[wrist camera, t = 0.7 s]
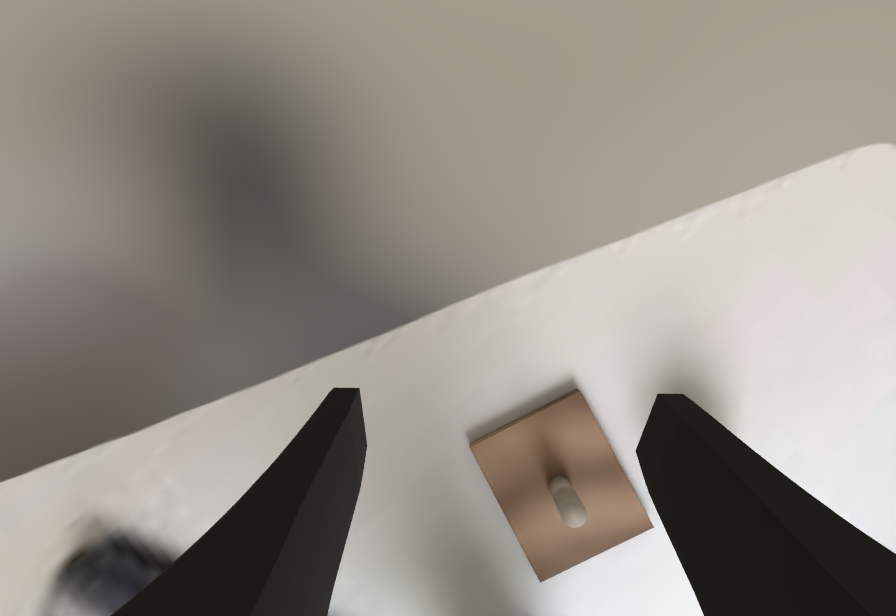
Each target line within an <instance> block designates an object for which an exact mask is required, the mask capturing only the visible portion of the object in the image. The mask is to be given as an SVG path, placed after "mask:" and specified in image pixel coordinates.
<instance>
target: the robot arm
mask: <svg viewBox="0 0 896 616" xmlns="http://www.w3.org/2000/svg"><path fill="white" fill-rule="evenodd" d="M366 450H367V441H366V434H365V426H364V418H363V411H362V403H361V396H360V388H333V389H332V390H331V391H330V392H329V394H328V395H327V396H326V398H325V399H324V400H323V402H322V403H321V404H320V406H319V407H318V408H317V410H316V411H315V412H314V413H313V415H312V416H311V417H310V419H309V420H308V421H307V422H306V424H305V425H304V426H303V427H302V429H301V430H300V431H299V432H298V434H297V435H296V436H295V437H294V438H293V440H292V441H291V442H290V443H289V444H288V446H287V447H286V448H285V449H284V450H283V452H282V453H281V454H280V455H279V456H278V458H277V459H276V460H275V461H274V462H273V463H272V464H271V466H270V467H269V468H268V469H267V470H266V471H265V472H264V473H263V474H262V475H261V477H260V478H259V479H258V480H257V481H256V482H255V483H254V484H253V485H252V486H251V487H250V488H249V490H248V491H247V492H246V493H245V494H244V495H243V496H242V497H241V498H240V499H239V500H238V501H237V502H236V503H235V504H234V505H233V506H232V507H231V508H230V509H229V510H228V511H227V513H226V514H225V515H223V516H222V517H221V518H220V519H219V520H218V521H217V522H216V523H215V524H214V525H213V526H212V527H211V528H210V529H209V530H208V531H207V532H206V533H205V534H204V535H203V536H202V537H201V538H200V539H199V540H198V541H197V542H195V543H194V544H193V545H192V546H191V547H190V548H189V549H188V550H187V551H186V552H184V553H183V554H182V555H181V556H180V557H179V558H178V559H177V560H175V561H174V562H173V563H172V564H171V565H170V566H169V567H168V568H167V569H165V570H164V571H163V572H162V573H161V574H160V575H159V576H158V577H156V578H155V579H154V580H153V581H152V582H151V583H149V584H148V585H147V586H146V587H145V588H144V589H142V590H141V591H140V592H139V593H138V594H137V595H135V596H134V597H133V598H132V599H131V600H129V601H128V602H127V603H126V604H124V605H123V606H122V607H121V608H119V609H118V610H117V611H116V612H114V613H113V614H112V615H111V616H327V614H328V609H329V604H330V600H331V596H332V592H333V587H334V583H335V580H336V576H337V572H338V569H339V565H340V561H341V558H342V554H343V550H344V547H345V543H346V539H347V536H348V532H349V528H350V525H351V521H352V517H353V514H354V510H355V506H356V502H357V499H358V495H359V491H360V487H361V481H362V475H363V469H364V463H365V456H366ZM636 453H637V457H638V460H639V463H640V467H641V470H642V473H643V476H644V479H645V482H646V485H647V488H648V491H649V494H650V496H651V498H652V501H653V503H654V505H655V507H656V510H657V512H658V514H659V516H660V519H661V521H662V523H663V525H664V527H665V530H666V532H667V534H668V536H669V538H670V540H671V543H672V545H673V547H674V549H675V551H676V553H677V556H678V558H679V560H680V562H681V564H682V566H683V569H684V571H685V573H686V575H687V577H688V579H689V582H690V584H691V586H692V588H693V590H694V592H695V595H696V597H697V600H698V602H699V604H700V607H701V609H702V612H703V614H704V616H896V554H895V553H893V552H892V551H890V550H889V549H887V548H886V547H884V546H883V545H881V544H880V543H878V542H877V541H875V540H874V539H872V538H871V537H869V536H868V535H866V534H865V533H863V532H862V531H860V530H859V529H858V528H856V527H855V526H853V525H852V524H850V523H849V522H848V521H846V520H845V519H843V518H842V517H840V516H839V515H838V514H836V513H835V512H834V511H832V510H831V509H829V508H828V507H827V506H825V505H824V504H823V503H821V502H820V501H819V500H817V499H816V498H814V497H813V496H812V495H810V494H809V493H808V492H806V491H805V490H804V489H802V488H801V487H800V486H798V485H797V484H796V483H794V482H793V481H792V480H790V479H789V478H788V477H787V476H785V475H784V474H783V473H781V472H780V471H779V470H778V469H776V468H775V467H774V466H772V465H771V464H770V463H769V462H767V461H766V460H765V459H764V458H762V457H761V456H760V455H759V454H757V453H756V452H755V451H754V450H752V449H751V448H750V447H749V446H747V445H746V444H745V443H744V442H742V441H741V440H740V439H739V438H738V437H736V436H735V435H734V434H733V433H731V432H730V431H729V430H728V429H726V428H725V427H724V426H723V425H722V424H720V423H719V422H718V421H717V420H715V419H714V418H713V417H712V416H710V415H709V414H708V413H707V412H706V411H704V410H703V409H702V408H701V407H699V406H698V405H697V404H695V403H694V402H693V401H692V400H690V399H689V398H688V397H686V396H685V395H684V394H657V397H656V400H655V402H654V405H653V407H652V410H651V412H650V415H649V418H648V420H647V423H646V425H645V428H644V431H643V433H642V436H641V438H640V441H639V443H638V446H637V449H636Z"/></svg>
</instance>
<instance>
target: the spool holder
mask: <svg viewBox="0 0 896 616" xmlns="http://www.w3.org/2000/svg"><path fill="white" fill-rule="evenodd" d="M470 449H471V451H472V453H473V455H474V457H475V459H476V460H477V462H478V464H479V466H480V468H481V470H482V472H483V474H484V476H485V478H486V480H487V482H488V483H489V485H490V487H491V489H492V491H493V493H494V495H495V497H496V499H497V501H498V503H499V504H500V506H501V508H502V510H503V512H504V514H505V516H506V518H507V520H508V522H509V524H510V525H511V527H512V529H513V531H514V533H515V535H516V537H517V539H518V541H519V543H520V545H521V547H522V548H523V550H524V552H525V554H526V556H527V558H528V560H529V562H530V564H531V566H532V568H533V569H534V571H535V573H536V575H537V577H538V579H539V581H540V582H542V581H544V580H546V579H549V578H551V577H553V576H555V575H557V574H559V573H561V572H563V571H565V570H567V569H569V568H571V567H573V566H575V565H577V564H579V563H581V562H584V561H586V560H588V559H590V558H592V557H594V556H596V555H598V554H600V553H602V552H604V551H606V550H608V549H610V548H612V547H614V546H616V545H619V544H621V543H623V542H625V541H627V540H629V539H631V538H633V537H635V536H637V535H639V534H641V533H643V532H645V531H647V530H649V529H651V528H654V526H653V525H652V523H651V521H650V519H649V517H648V515H647V513H646V512H645V510H644V508H643V506H642V504H641V502H640V501H639V499H638V497H637V495H636V493H635V491H634V489H633V488H632V486H631V484H630V482H629V480H628V478H627V477H626V475H625V473H624V471H623V469H622V467H621V465H620V464H619V462H618V460H617V458H616V456H615V454H614V452H613V451H612V449H611V447H610V445H609V443H608V441H607V440H606V438H605V436H604V434H603V432H602V430H601V428H600V427H599V425H598V423H597V421H596V419H595V417H594V415H593V414H592V412H591V410H590V408H589V406H588V404H587V403H586V401H585V399H584V397H583V395H582V393H581V391H579V390H578V389H576V390H574V391H572V392H570V393H568V394H566V395H564V396H562V397H560V398H558V399H556V400H554V401H552V402H550V403H548V404H546V405H545V406H543V407H541V408H539V409H537V410H535V411H533V412H531V413H529V414H527V415H525V416H523V417H521V418H519V419H517V420H515V421H513V422H511V423H509V424H507V425H505V426H503V427H501V428H500V429H498V430H496V431H494V432H492V433H490V434H488V435H486V436H484V437H482V438H480V439H478V440H476V441H474V442H472V443H470Z"/></svg>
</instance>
